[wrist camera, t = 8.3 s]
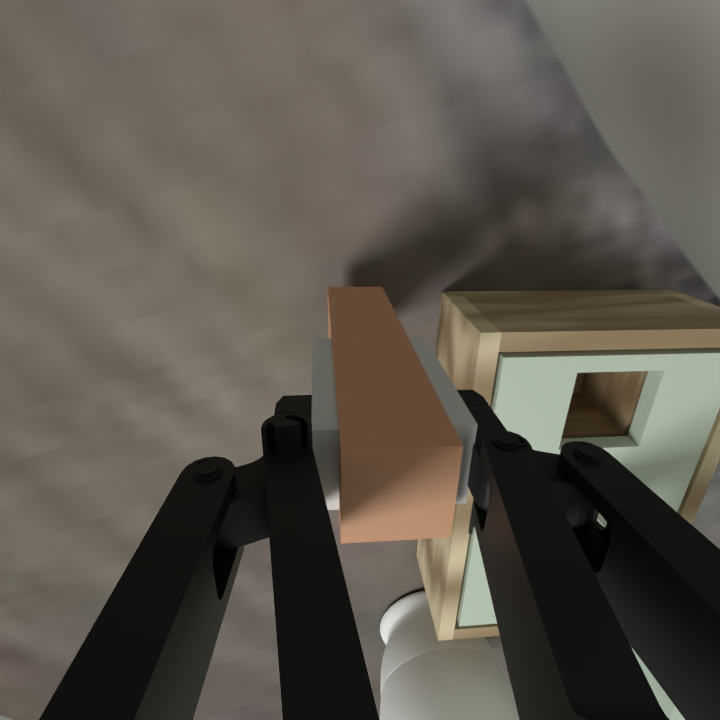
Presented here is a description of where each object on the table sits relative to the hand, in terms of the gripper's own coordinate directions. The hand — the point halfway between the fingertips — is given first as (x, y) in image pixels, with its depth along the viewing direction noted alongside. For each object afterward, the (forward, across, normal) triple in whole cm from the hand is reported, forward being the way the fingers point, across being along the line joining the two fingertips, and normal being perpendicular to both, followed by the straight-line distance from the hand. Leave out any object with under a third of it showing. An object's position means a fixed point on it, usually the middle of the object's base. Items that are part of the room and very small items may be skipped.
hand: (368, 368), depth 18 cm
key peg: (+8, 0, 0) cm, 8 cm away
